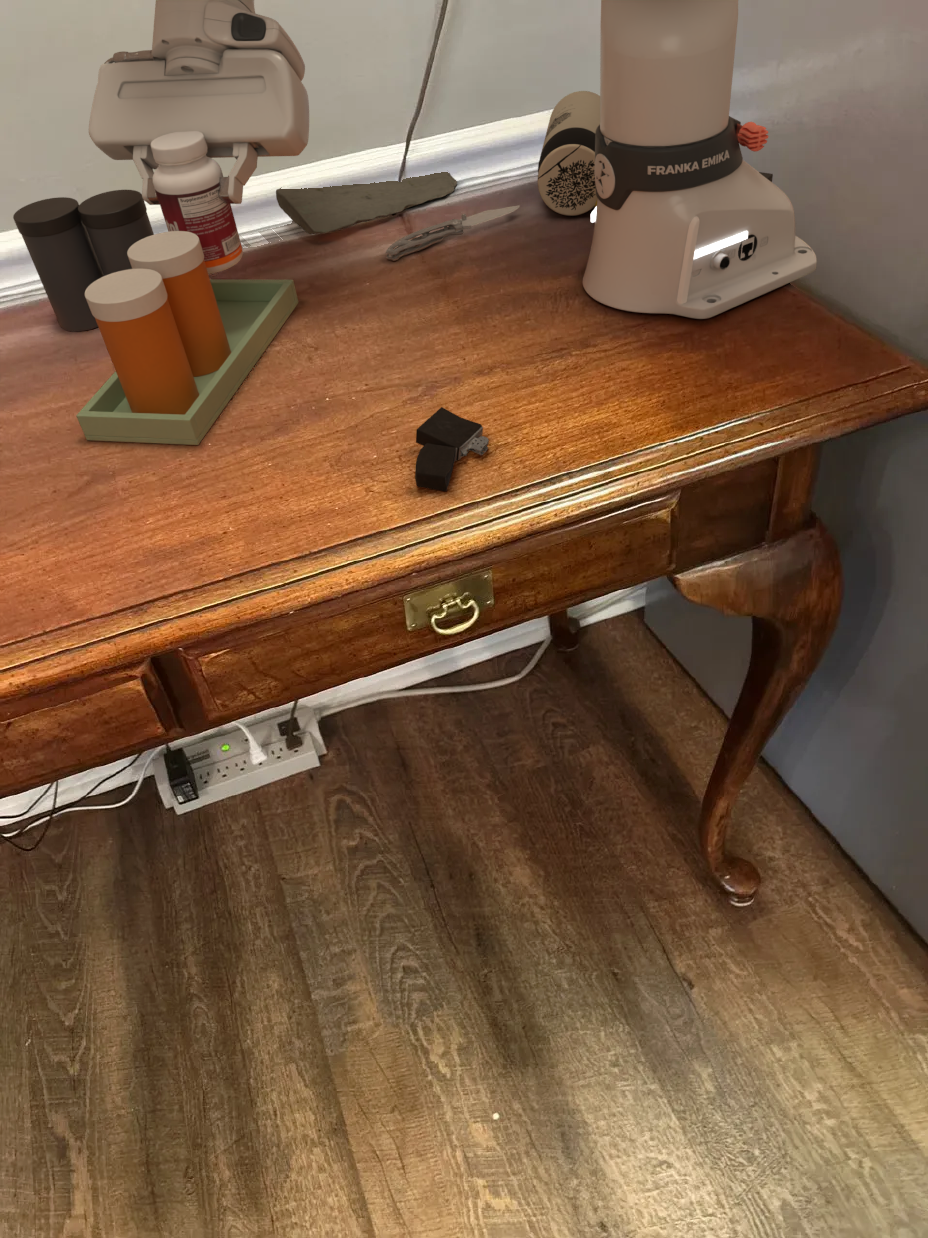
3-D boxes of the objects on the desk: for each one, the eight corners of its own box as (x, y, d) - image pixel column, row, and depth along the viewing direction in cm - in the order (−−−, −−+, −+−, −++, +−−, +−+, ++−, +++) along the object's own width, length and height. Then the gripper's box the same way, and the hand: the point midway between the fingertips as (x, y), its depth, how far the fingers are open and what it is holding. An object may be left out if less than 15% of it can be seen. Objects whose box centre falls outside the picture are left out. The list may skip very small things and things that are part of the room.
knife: (526, 202, 106) (512, 194, 108) (388, 251, 101) (376, 241, 103) (527, 216, 107) (513, 208, 109) (390, 265, 102) (378, 255, 104)
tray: (204, 301, 99) (197, 278, 97) (298, 302, 97) (293, 279, 95) (86, 440, 82) (75, 415, 80) (198, 445, 79) (189, 419, 78)
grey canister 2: (172, 291, 102) (137, 184, 94) (182, 314, 98) (146, 204, 90) (115, 306, 101) (74, 198, 93) (122, 330, 96) (80, 219, 88)
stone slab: (312, 218, 104) (269, 187, 109) (315, 243, 106) (272, 211, 111) (475, 176, 114) (428, 150, 119) (474, 200, 116) (428, 172, 121)
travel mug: (625, 139, 116) (620, 196, 103) (567, 171, 119) (556, 231, 107) (597, 76, 111) (588, 127, 99) (537, 111, 115) (522, 166, 102)
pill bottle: (176, 257, 91) (138, 135, 84) (239, 242, 93) (207, 121, 85) (183, 282, 87) (144, 156, 79) (249, 267, 88) (216, 141, 80)
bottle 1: (225, 338, 92) (192, 224, 84) (239, 366, 87) (204, 249, 80) (162, 355, 90) (122, 241, 83) (172, 384, 86) (131, 267, 79)
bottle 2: (194, 378, 87) (155, 261, 79) (206, 410, 82) (167, 290, 75) (127, 397, 85) (80, 280, 78) (136, 430, 81) (88, 310, 73)
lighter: (384, 477, 73) (440, 504, 71) (384, 457, 71) (442, 484, 70) (440, 426, 77) (494, 450, 76) (442, 405, 76) (497, 430, 74)
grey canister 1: (114, 298, 102) (75, 191, 94) (121, 321, 98) (80, 212, 90) (56, 313, 101) (11, 206, 93) (61, 337, 96) (14, 227, 89)
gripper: (80, 32, 84) (68, 187, 84) (295, 20, 80) (281, 183, 80) (120, 72, 90) (109, 217, 91) (321, 63, 86) (309, 215, 86)
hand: (191, 201), depth 85 cm, fingers closed on pill bottle, 6 cm apart
